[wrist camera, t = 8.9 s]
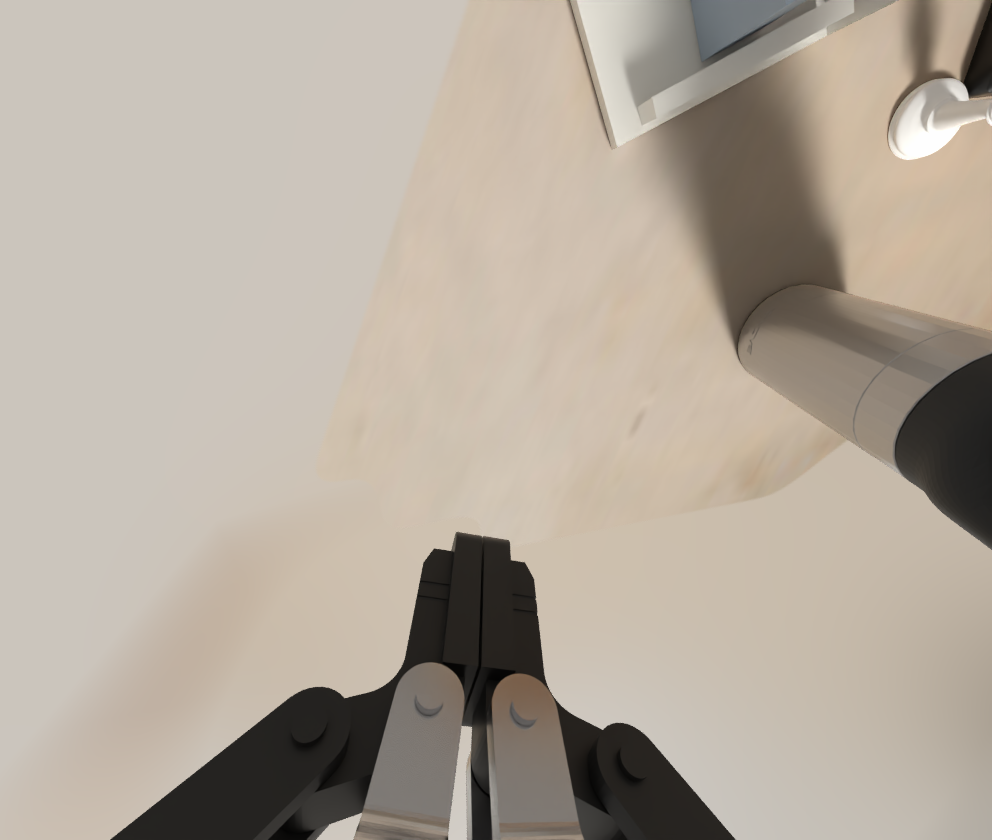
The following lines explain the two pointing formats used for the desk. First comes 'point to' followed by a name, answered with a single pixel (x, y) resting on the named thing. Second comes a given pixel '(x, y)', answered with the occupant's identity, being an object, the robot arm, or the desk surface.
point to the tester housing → (685, 55)
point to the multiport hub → (981, 64)
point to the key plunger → (733, 21)
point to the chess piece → (933, 117)
